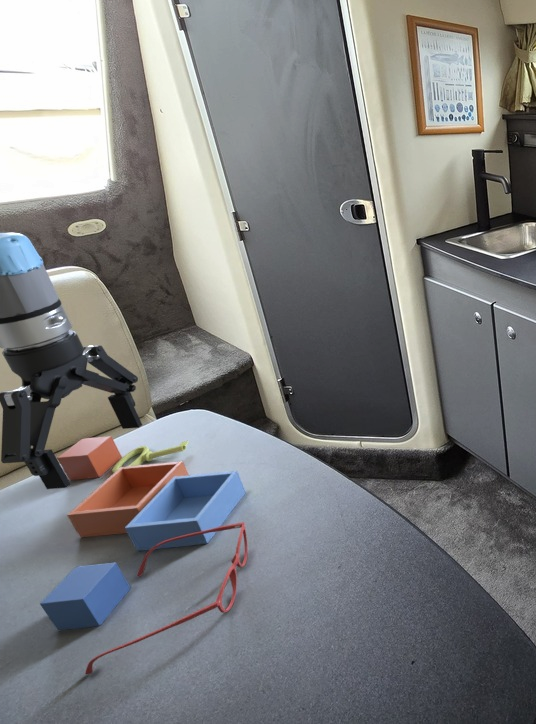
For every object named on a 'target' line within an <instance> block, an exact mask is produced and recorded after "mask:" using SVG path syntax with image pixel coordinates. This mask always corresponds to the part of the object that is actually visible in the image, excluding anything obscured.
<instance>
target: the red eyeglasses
mask: <svg viewBox="0 0 536 724" xmlns="http://www.w3.org/2000/svg"><path fill="white" fill-rule="evenodd" d="M233 529H240V532H239V536H238V540H237V544H236V550H235V553H234V555H233V558H232V559H231V566H230V567H229V568H228V570H227V573H226V575H225V577H224V580H223V582H222V585H221V587H220V589H219V592H218V595H217V598H216V600H215V602H213V603H211V604H209V605H207V606H204V607H203V608H200V609H199V610H197V611H194V612H192V613H190V614H188V615H186V616H184V617H182V618H180V619H177V620H176V621H174V622H172V623H170V624H168V625H165V626H163V627H161V628H158V629H156V630H154V631H152V632H149V633H147V634H145V635H143V636H140V637H138V638H135V639H134V640H132V641H128V642H126V643H124V644H122V645H119V646H116V647H114V648H112V649H109V650H107V651H105V652H102V653H101V654H98V655H96V656H95V657H93V658H92V659H91V660H90V661H89V662H88V663H87V666H86V669H85V672H84V674H85V675H90V674H93V670H94V669H93V664H94V663H95V661H97V660H98V659H100V658H102V657H104V656H106V655H108V654H110V653H111V654H112V653H113V652H116V651H119V650H121V649H124V648H126V647H129V646H132V645H134V644H136V643H137V644H138V643H139V642H142V641H143V640H146V639H149V638H150V637H153V636H155V635H157V634H160V633H162V632H165V631H167V630H169V629H172V628H174V627H177V626H179V625H181V624H184V623H186V622H188V621H190V620H192V619H193V620H194V619H195V618H197V617H199V616H201V615H203V614H206V613H208V612H210V611H212V610H214V609H218V610H219V612H220V613H223V614H224V613H228V612H229V611H230V610H231V608H232V607H233V605H234V603H235V600H236V596H237V595H236V594H237V587H238V586H237V585H238V578H237V577H238V576H237V569H236V568H237V567H239V568H243V567H244V566H245V565H246V563H247V559H248V538H247V531H246V523H245V522H244V521H242V522H237V523H231V524H226V525H221V526H220V527H217V528H213V529H209V530H205V531H200V532H196V533H191V534H187V535H183V536H179V537H175V538H172V539H168V540H165V541H163V542H161V543H159V544H157V545H156V546H154V547H153V548H152V549H150V550H147V553H146V554H145V555H144V557H143V559H142V561H141V563H140V566H139V568H138V571H137V573H136V577H141V576H142V575H143V574H144V572H145V568H146V565H147V561H148V559H149V556H150V555H151V554H152V552H154V551H155V550H157V549H156V548H157V547H158V546H160V545H162V544H164V543H167V542H170V541H174V540H178V539H182V538H186V537H190V536H195V535H200V534H205V533H210V532H216V533H217V532H221V531H227V530H228V531H229V530H233ZM242 538H243V542H244V543H243V545H244V554H243V555H244V556H243V561H242V563H241V561H240V549H241V542H242ZM228 579H229V580H230V583H231V588H232V596H231V600H230V603H229V605H228V606H227V607H226V609H225V608H224V606H223V595H224V591H225V588H226V585H227V582H228Z"/></svg>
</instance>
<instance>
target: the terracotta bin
mask: <svg viewBox="0 0 536 724" xmlns="http://www.w3.org/2000/svg"><path fill="white" fill-rule="evenodd" d="M187 475H190V474H189V472H188V469H187V467H186V465H185V463H184V461H172V462H162V463H161V462H160V463H150V464H149V463H148V464H141V465H137V466H128V465H126V466H121V467H120V468H119V469H118V470H117V471H116V472H115V473H114V474H113V473H112V474H111V475H110V476H109V477H108V478H107V479H105V480H104V481H103V482H102V483H101V484H100V485H99V486H98V487H97V488H95V490H94V491H92V492H91V493H90V494H89V495H88V496H87V497H86V498H84V500H82V501H81V502H80V503H79V504H78V505H77V506H76V507H75V508H73V509H72V510H71V511H70V512H69V513H67V514H66V516H67V518H68V519H69V521H70V522H71V524H72V526H73V528H74V530H75V531H76V533H77V534H78V536H79V538H89V537H100V536H111V535H121V534H128V533H127V531H126V529H125V527H126V526H127V525H128V524H129V523H130V522H131V521H132V520H133V519H134V518H135V517H136V516H137V515H138V514H139V513H140V511H141V510H142V509H143V508H144V507H145V506H146V505H147V504H148V503H149V502H150V501H151V500H152V499H153V498H154V497H155V496H156V495H157V494H158V493H159V492H160V491H161V490H162V489H163V487H164V486H165V485H166V484H167V483H168V482H169V481H170V480H171V479H172V478H173V477H176V476H187Z"/></svg>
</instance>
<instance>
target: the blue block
mask: <svg viewBox="0 0 536 724" xmlns="http://www.w3.org/2000/svg"><path fill="white" fill-rule="evenodd" d="M131 589H132V588H131V586H130V584H129V583H128V581H127V579H126V578H125V576H124V574H123V572H122V570H121V569H120V566H119V565H118V564H117V562H109V563H98V564H90V565H79V566H75V567H74V568H73V569H72V570H71V571H70V572H69V573H68V574H67V575H66V576H65V577H64V578H63V580H61V581H60V582H59V583H58V585H57V586H56V587H54V589H53V590H51V591H50V593H48V595H46V597H45V598H44V599H43V600H42V601H40V603H39V605H40V607H41V609H43V611H44V613H45V614H46V616H47V617H48V618H49V620H50V621H51V623H52V624H53V625H54V627H55V629H56V630H57V631H66V630H75V629H84V628H85V629H86V628H91V627H92V628H93V627H94V628H95V627H100V626H101V625H102V624H103V623H104V621H105V620H106V619H107V618H108V617H109V616H110V614H111V613H112V612H113V611H114V610H115V608H116V607H117V606H118V605H119V604H120V602H121V601H122V599H124V597H126V595H127V594H128V593H129V591H130V590H131Z"/></svg>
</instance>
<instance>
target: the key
mask: <svg viewBox="0 0 536 724" xmlns="http://www.w3.org/2000/svg"><path fill="white" fill-rule="evenodd" d="M189 443H190V441H189V440H186V441H184V440H183V441H181V443H180V444H179V445H177V446H173V447H169V448H165V449H160V450H157V451H151V450H150V448H149V447H148V446H146V445H142V446H141V445H140V446H138V447H136V448H134V449H132V450H130V451H129V452H128V453H126V454H125V455H124V456H122V458H121V459H120V460H119V461H118V462H116V463H115V464H114V465H113V466H112V470H111V472H112V475H113V474H114V473H115V472H116V471H117V470H118V469H119V468H120V467H123V465H124V464H125V463H126V462H127V461H129V460H130V459H132V458H133V457H135V456H136V455H138V457H137V458H136V459H135V460H134V461H133V462H131V463H129V464H128V465H127V466H137V465H143V464H144V462H145V461H146V462H151V461H153V459H156V458H161V457H164V456H168V455H173V454H177V453H181V452H184V451H186V450H187V446H188V444H189ZM139 454H140V455H139Z"/></svg>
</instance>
